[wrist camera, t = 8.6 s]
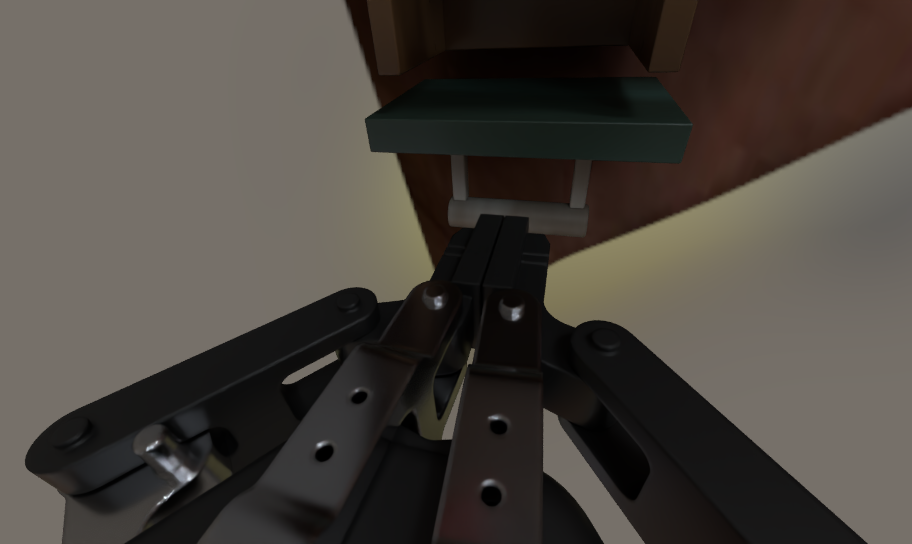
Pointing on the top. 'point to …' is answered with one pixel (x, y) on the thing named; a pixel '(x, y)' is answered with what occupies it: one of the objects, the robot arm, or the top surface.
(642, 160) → the drawer
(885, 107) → the top surface
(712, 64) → the top surface
